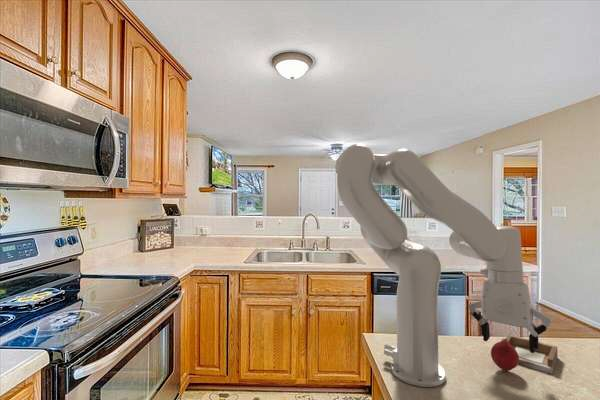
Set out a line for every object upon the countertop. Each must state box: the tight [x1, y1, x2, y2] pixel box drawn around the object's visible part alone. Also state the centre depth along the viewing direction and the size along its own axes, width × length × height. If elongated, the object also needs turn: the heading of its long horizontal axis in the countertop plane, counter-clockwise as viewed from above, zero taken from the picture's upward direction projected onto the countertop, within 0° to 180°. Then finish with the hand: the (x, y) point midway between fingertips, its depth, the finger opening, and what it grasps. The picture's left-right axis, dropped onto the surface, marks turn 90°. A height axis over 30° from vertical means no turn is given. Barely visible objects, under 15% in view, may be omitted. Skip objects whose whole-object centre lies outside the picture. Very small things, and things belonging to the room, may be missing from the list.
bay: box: [505, 334, 559, 375], centre depth 82 cm, size 11×11×3 cm
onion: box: [490, 337, 519, 372], centre depth 75 cm, size 6×6×8 cm
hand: (508, 344), depth 75 cm, fingers open, 9 cm apart
